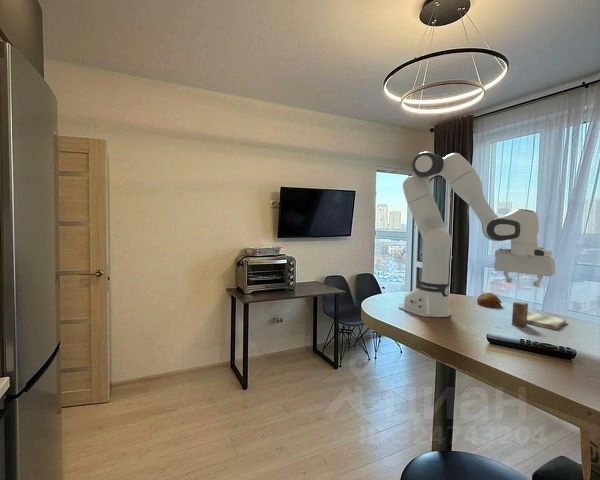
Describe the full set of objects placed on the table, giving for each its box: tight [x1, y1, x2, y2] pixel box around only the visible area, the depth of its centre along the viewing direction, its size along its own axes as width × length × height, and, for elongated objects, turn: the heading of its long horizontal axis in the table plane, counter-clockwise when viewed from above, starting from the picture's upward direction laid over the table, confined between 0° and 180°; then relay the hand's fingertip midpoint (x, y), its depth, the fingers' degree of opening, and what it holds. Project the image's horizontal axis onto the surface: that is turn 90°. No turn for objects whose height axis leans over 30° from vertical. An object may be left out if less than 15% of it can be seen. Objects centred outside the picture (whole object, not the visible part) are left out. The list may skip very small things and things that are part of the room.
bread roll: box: [477, 292, 503, 308], centre depth 161 cm, size 10×10×8 cm
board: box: [527, 311, 567, 331], centre depth 135 cm, size 14×14×2 cm
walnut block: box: [511, 301, 529, 328], centre depth 130 cm, size 4×4×9 cm
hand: (522, 284), depth 129 cm, fingers open, 8 cm apart
